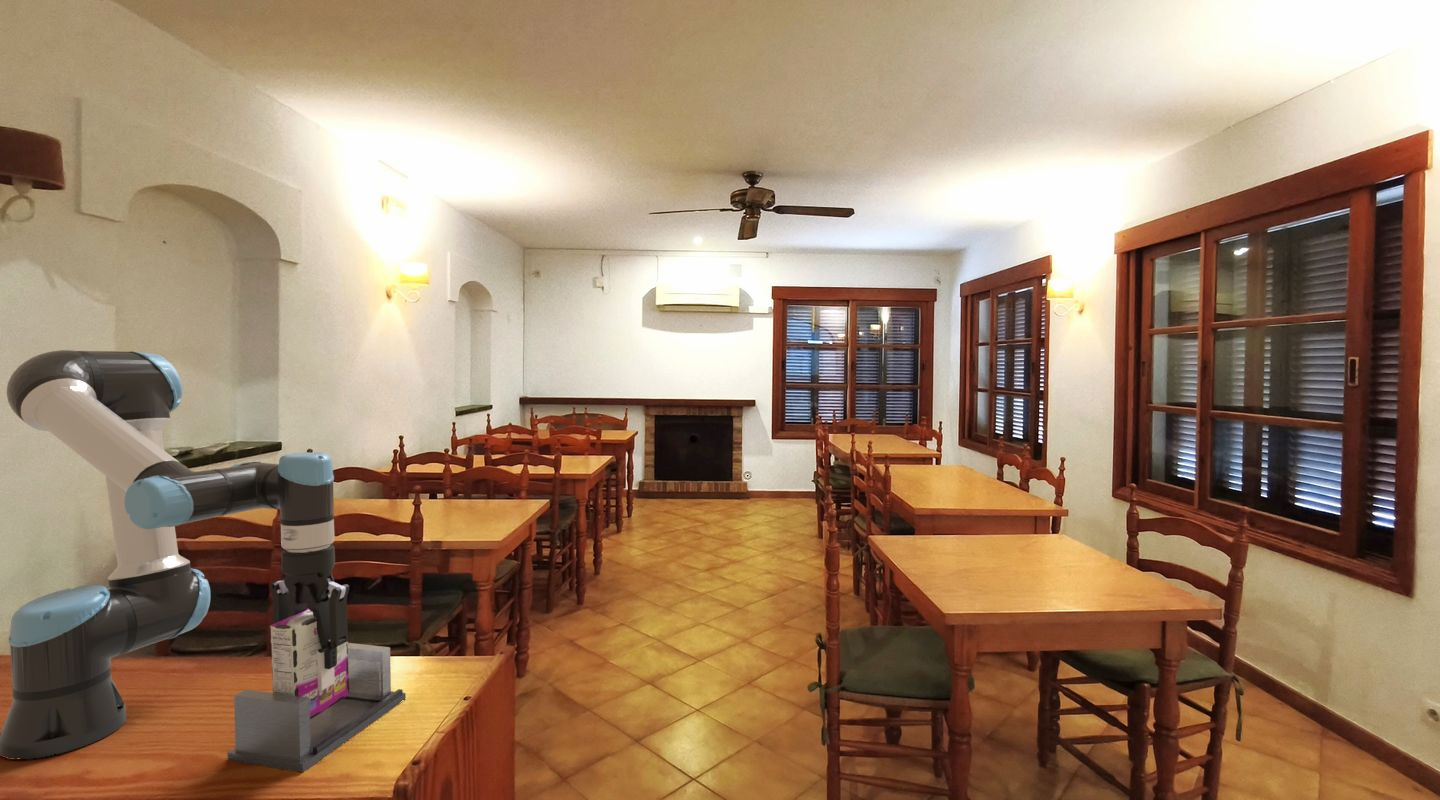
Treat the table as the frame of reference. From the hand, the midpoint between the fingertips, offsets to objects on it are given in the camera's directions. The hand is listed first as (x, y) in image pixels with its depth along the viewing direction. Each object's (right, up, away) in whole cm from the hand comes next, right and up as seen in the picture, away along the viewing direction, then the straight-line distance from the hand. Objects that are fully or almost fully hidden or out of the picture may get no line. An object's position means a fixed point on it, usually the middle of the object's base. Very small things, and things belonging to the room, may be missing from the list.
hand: (311, 684), depth 110 cm
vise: (0, -8, +3) cm, 9 cm away
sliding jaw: (+3, -7, +14) cm, 15 cm away
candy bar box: (0, -4, 0) cm, 4 cm away
